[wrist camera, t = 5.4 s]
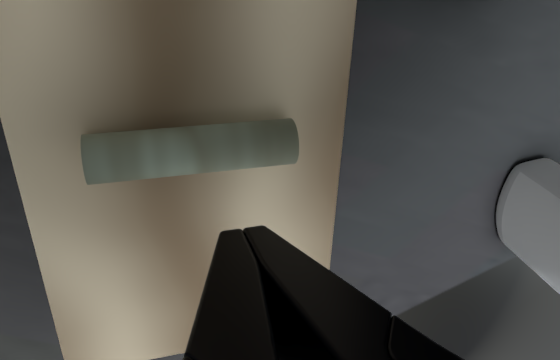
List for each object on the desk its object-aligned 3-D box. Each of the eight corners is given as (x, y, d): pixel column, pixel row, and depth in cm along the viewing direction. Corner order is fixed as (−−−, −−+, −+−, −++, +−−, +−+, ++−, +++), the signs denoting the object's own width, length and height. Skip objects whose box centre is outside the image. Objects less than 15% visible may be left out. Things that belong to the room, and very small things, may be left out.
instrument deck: (373, -430, 11) (443, -521, 9) (311, 301, 22) (335, 351, 19) (-149, -547, 9) (-255, -722, 6) (71, 344, 19) (64, 408, 17)
